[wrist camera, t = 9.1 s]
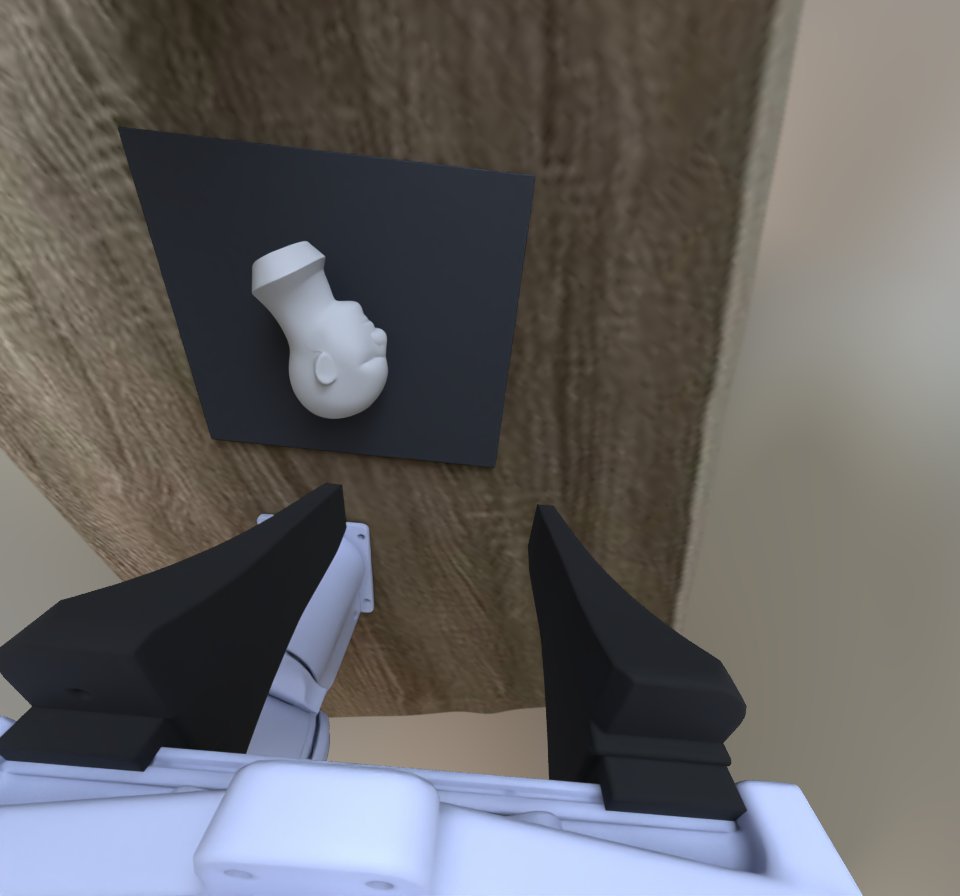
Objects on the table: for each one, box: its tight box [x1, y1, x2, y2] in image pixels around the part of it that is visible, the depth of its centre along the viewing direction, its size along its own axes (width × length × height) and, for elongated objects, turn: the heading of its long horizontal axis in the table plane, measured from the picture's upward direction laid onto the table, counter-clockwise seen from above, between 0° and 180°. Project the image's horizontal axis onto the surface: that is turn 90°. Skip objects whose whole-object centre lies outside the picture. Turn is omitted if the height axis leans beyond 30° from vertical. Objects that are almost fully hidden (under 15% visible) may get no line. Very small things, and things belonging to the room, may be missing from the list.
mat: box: [118, 127, 535, 468], centre depth 19 cm, size 15×18×1 cm
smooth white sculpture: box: [252, 241, 388, 419], centre depth 17 cm, size 4×8×5 cm
